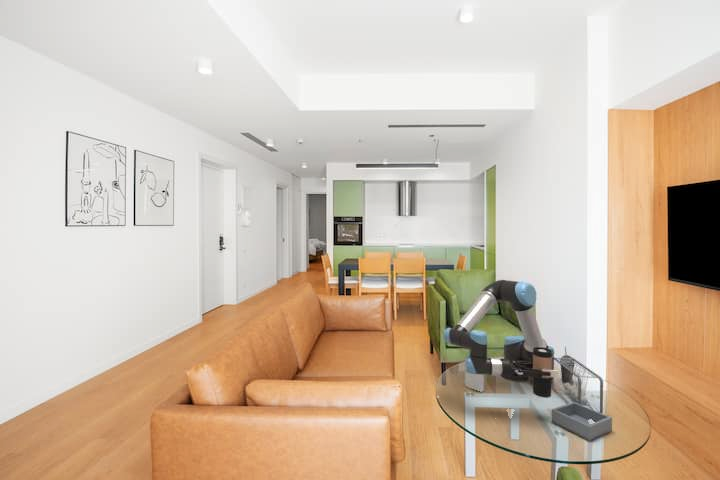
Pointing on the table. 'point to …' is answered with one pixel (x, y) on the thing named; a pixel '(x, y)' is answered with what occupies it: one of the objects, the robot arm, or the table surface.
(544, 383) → the travel mug
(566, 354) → the beverage cup
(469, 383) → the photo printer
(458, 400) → the table surface
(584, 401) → the newton's cradle
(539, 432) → the table surface
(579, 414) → the crate
